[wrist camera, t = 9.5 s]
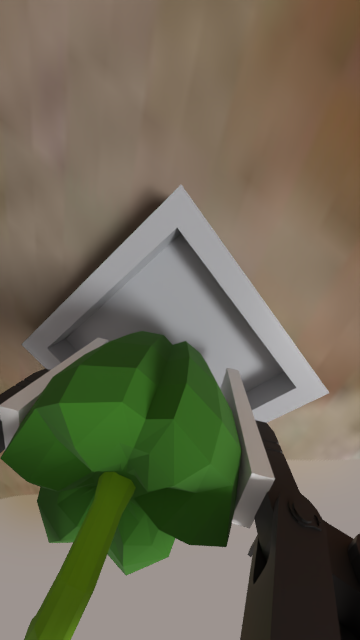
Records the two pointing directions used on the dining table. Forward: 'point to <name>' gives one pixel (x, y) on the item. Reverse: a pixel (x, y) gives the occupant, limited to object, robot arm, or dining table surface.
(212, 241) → the gray square tray
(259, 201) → the dining table surface
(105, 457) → the bell pepper
